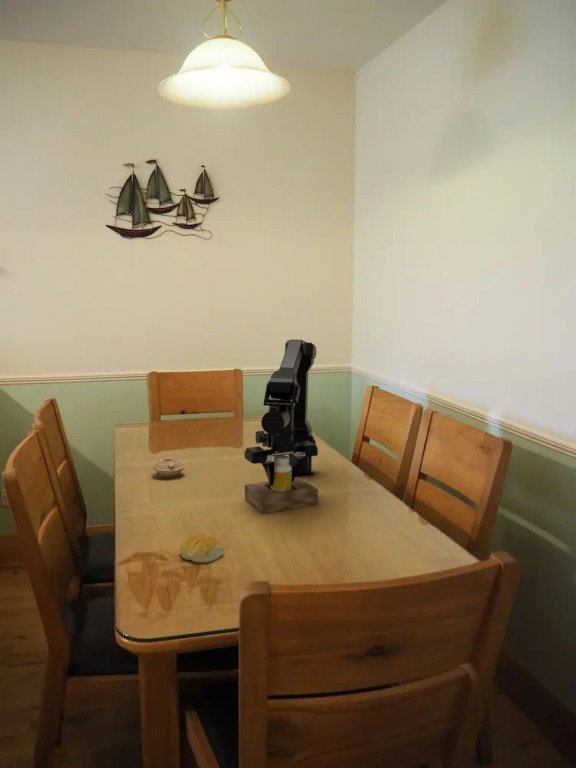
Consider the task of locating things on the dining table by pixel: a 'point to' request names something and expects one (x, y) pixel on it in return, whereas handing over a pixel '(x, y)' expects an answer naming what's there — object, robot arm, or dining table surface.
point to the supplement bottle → (282, 474)
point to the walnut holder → (281, 496)
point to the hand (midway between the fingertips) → (281, 483)
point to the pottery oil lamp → (169, 466)
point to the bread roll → (201, 548)
